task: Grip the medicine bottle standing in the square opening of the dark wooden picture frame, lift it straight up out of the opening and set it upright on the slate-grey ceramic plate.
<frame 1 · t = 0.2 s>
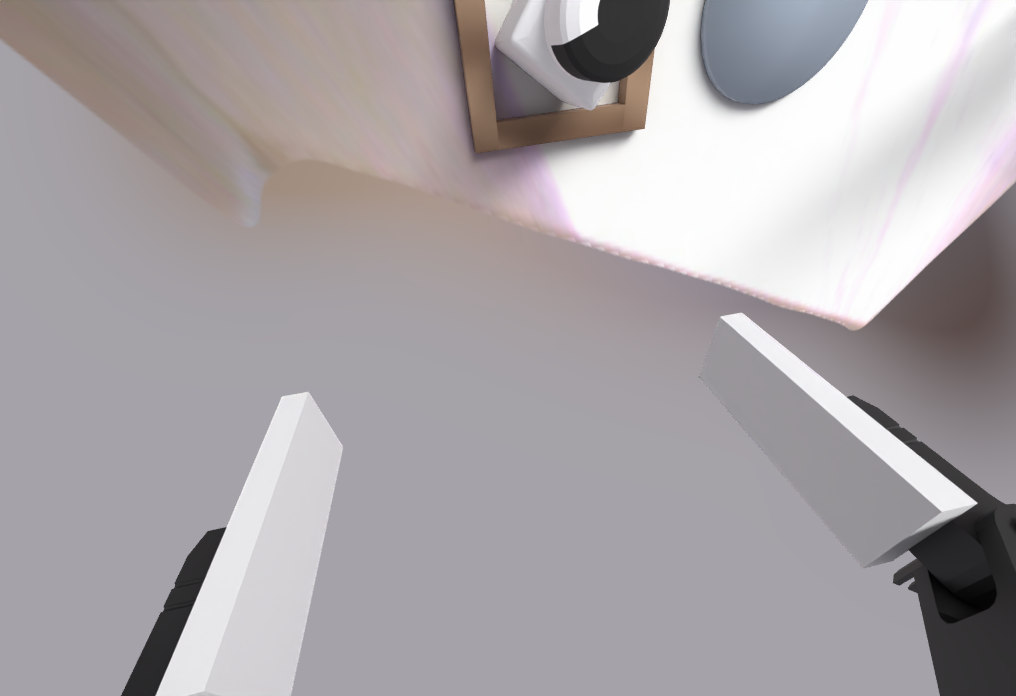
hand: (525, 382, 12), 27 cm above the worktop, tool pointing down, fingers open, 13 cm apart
medicine bottle: (555, 26, 28), resting in wooden picture frame
wooden picture frame: (556, 26, 28), on the worktop
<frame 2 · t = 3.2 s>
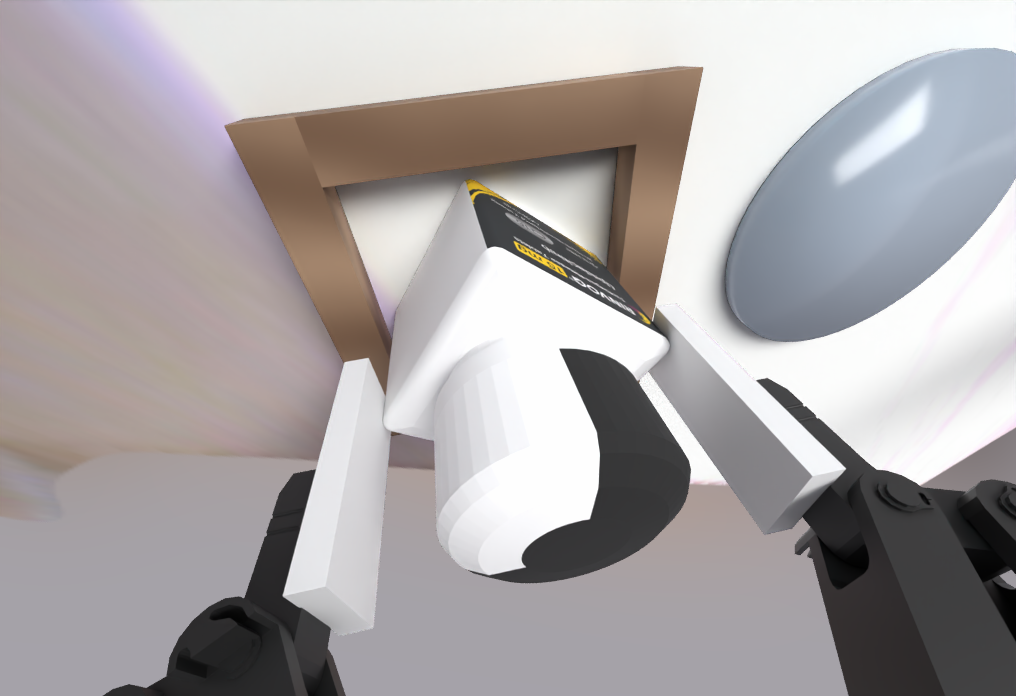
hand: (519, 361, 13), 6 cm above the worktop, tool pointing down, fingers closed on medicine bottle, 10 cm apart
medicine bottle: (495, 282, 17), resting in wooden picture frame, touching gripper
slate plate: (857, 224, 19), on the worktop
wooden picture frame: (495, 284, 17), on the worktop
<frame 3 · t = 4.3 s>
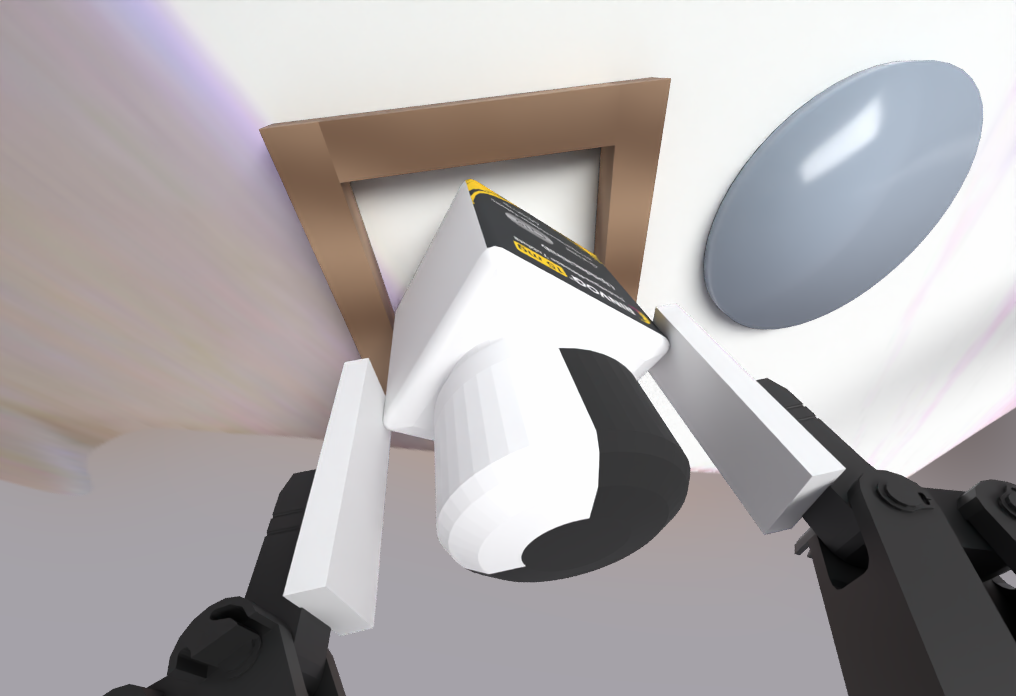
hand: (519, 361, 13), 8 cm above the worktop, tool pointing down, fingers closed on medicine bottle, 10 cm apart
medicine bottle: (495, 282, 17), point 2 cm above the worktop, touching gripper
slate plate: (824, 218, 20), on the worktop
wooden picture frame: (492, 272, 19), on the worktop
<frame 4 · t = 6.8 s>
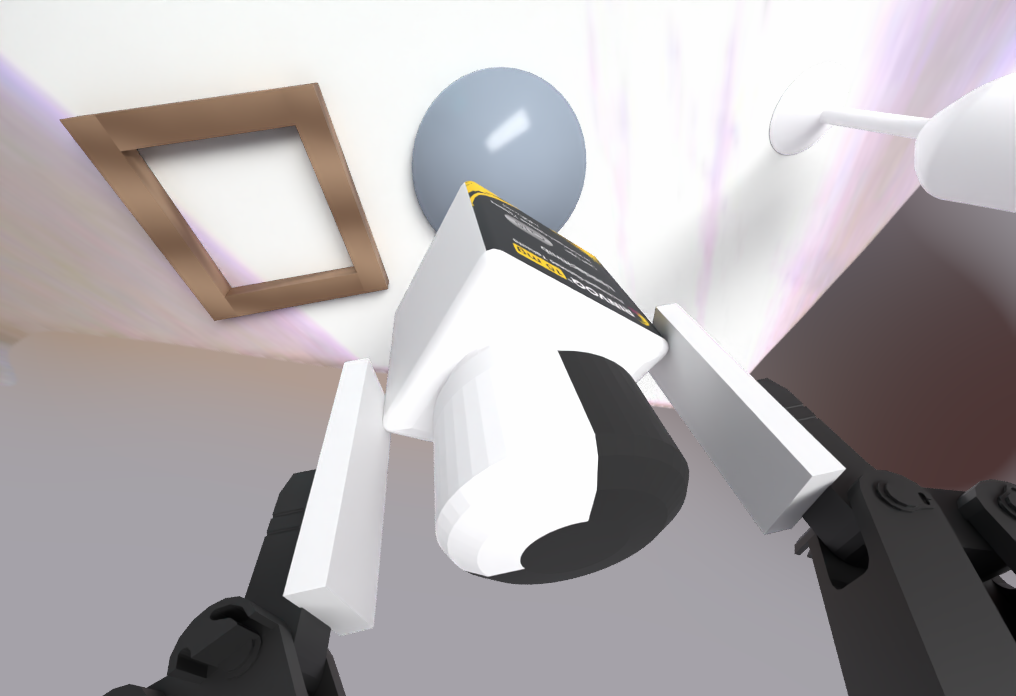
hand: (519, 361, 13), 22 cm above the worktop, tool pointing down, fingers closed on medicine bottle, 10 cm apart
champagne flute: (806, 111, 31), on the worktop
medicine bottle: (494, 283, 17), point 16 cm above the worktop, touching gripper
slate plate: (500, 175, 30), on the worktop
wooden picture frame: (262, 214, 28), on the worktop
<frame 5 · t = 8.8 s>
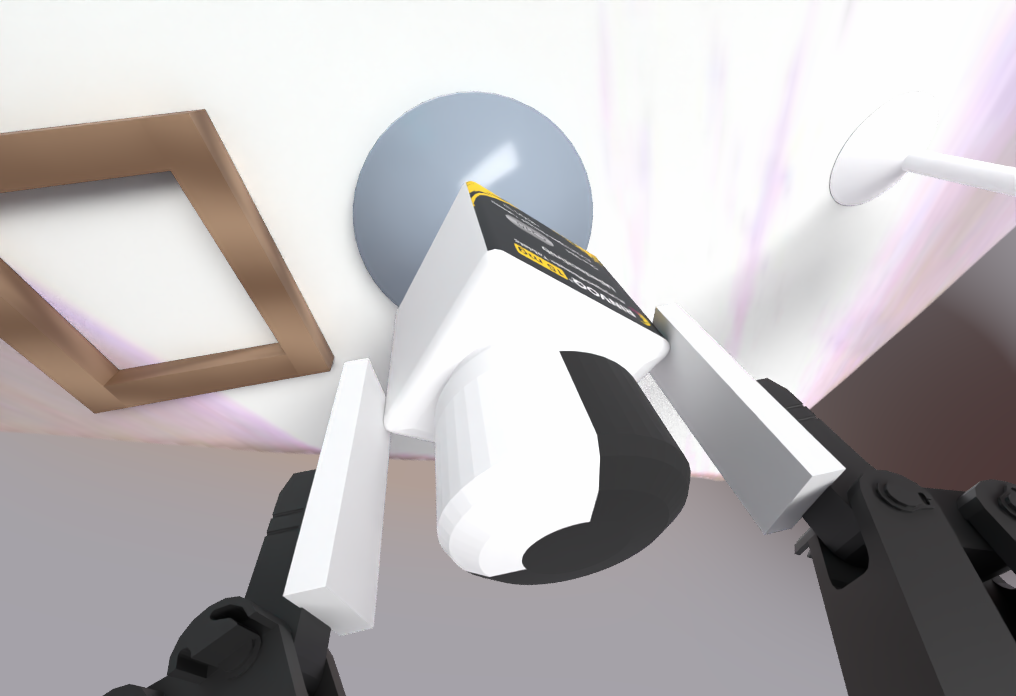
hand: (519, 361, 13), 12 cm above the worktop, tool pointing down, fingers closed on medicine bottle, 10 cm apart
champagne flute: (879, 153, 24), on the worktop
medicine bottle: (495, 283, 17), point 6 cm above the worktop, touching gripper
slate plate: (478, 231, 22), on the worktop
wooden picture frame: (147, 282, 21), on the worktop
when the fingers open (8 cm above the worktop, at t = 10.6 s): medicine bottle drops 2 cm, resting on slate plate.
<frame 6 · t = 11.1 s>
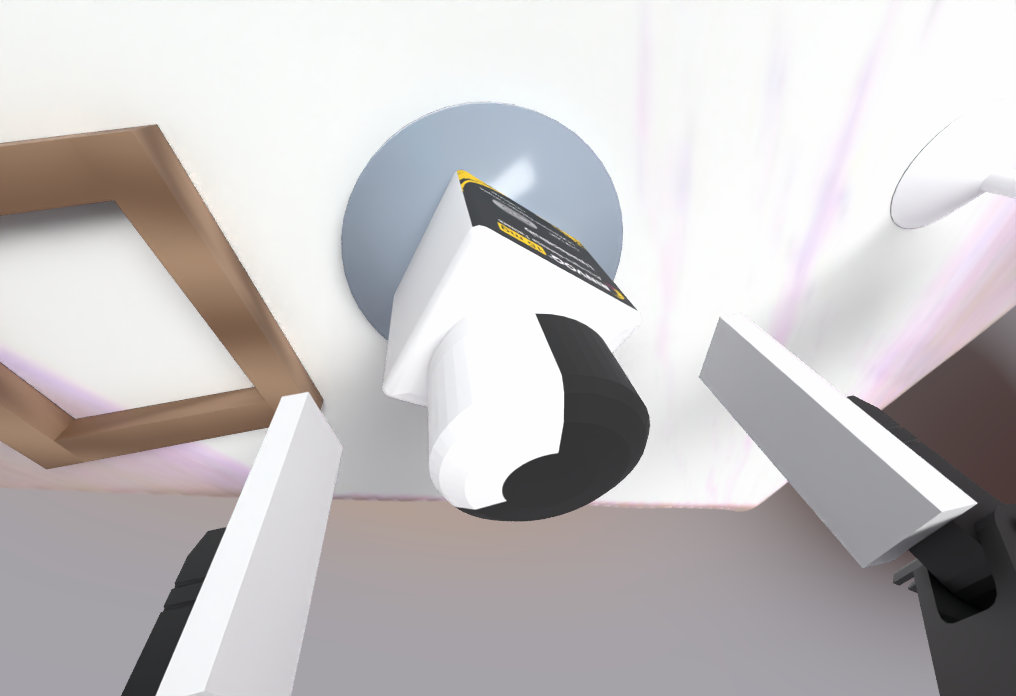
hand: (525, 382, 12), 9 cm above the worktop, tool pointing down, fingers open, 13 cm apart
champagne flute: (949, 169, 21), on the worktop
medicine bottle: (486, 267, 19), point 1 cm above the worktop, touching slate plate
slate plate: (488, 261, 19), on the worktop
wooden picture frame: (101, 324, 18), on the worktop
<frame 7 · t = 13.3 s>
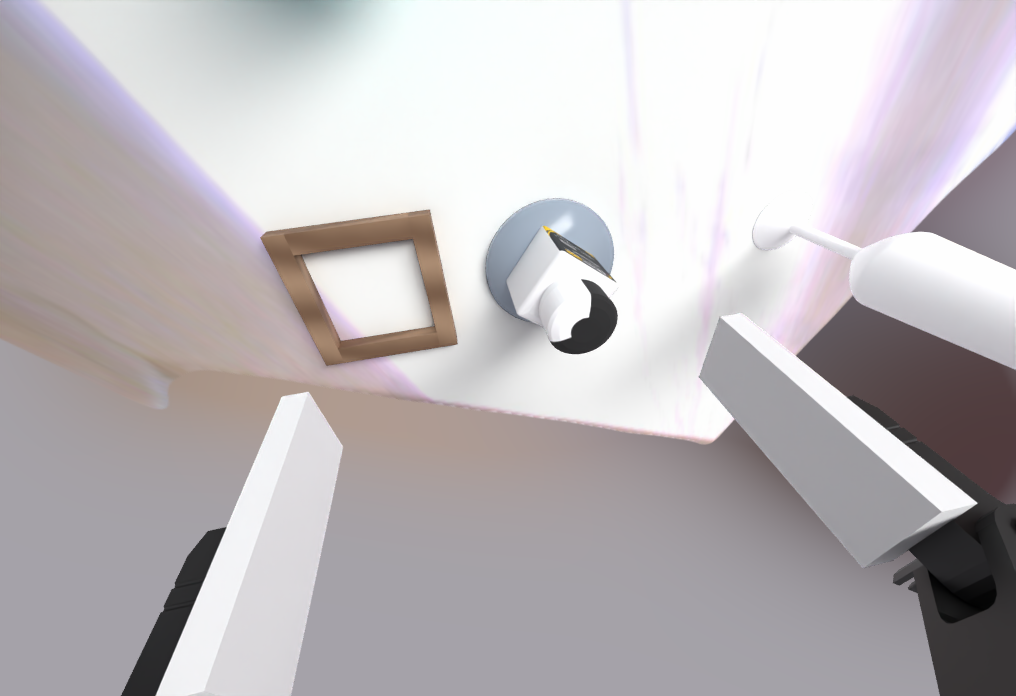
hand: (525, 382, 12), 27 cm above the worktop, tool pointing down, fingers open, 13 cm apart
champagne flute: (780, 221, 41), on the worktop
medicine bottle: (549, 267, 39), point 1 cm above the worktop, touching slate plate
slate plate: (549, 265, 40), on the worktop
wooden picture frame: (374, 291, 38), on the worktop
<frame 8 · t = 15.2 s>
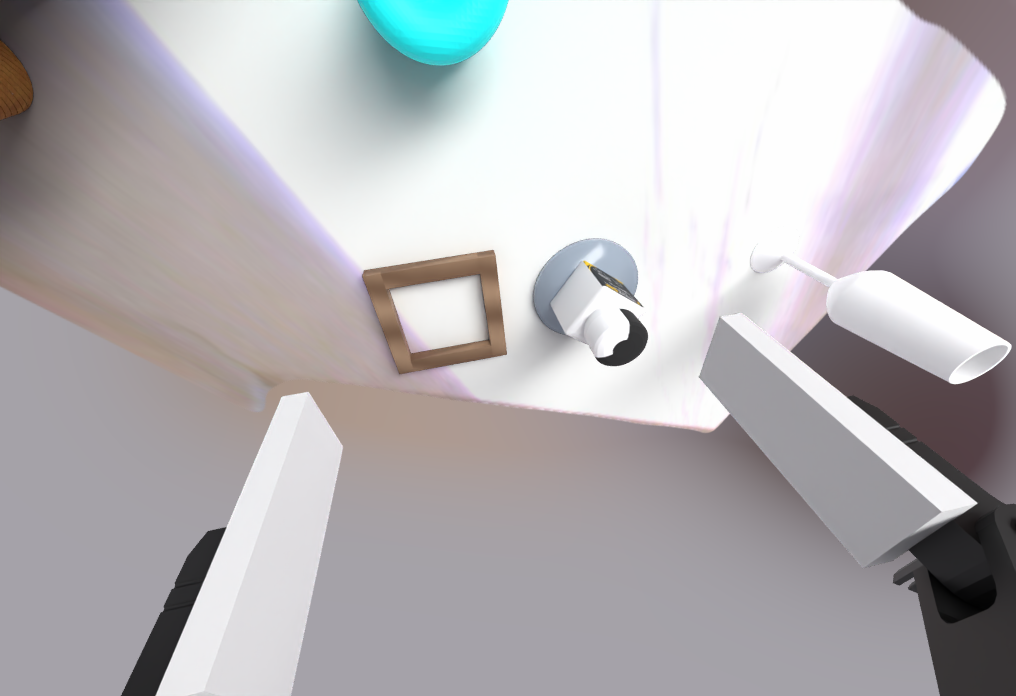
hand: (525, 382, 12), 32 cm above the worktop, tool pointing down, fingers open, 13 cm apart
champagne flute: (773, 250, 50), on the worktop
medicine bottle: (584, 291, 48), point 1 cm above the worktop, touching slate plate
slate plate: (584, 289, 48), on the worktop
wooden picture frame: (442, 313, 47), on the worktop
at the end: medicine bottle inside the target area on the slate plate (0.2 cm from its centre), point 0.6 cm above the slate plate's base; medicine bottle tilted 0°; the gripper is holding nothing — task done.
